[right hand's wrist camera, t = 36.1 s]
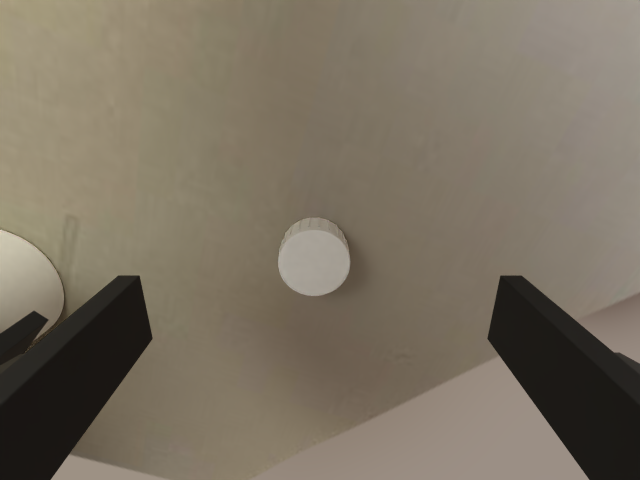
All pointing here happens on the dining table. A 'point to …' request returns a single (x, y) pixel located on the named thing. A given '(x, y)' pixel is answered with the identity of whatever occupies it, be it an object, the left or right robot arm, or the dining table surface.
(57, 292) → the bottle
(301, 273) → the cap
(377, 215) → the dining table surface
